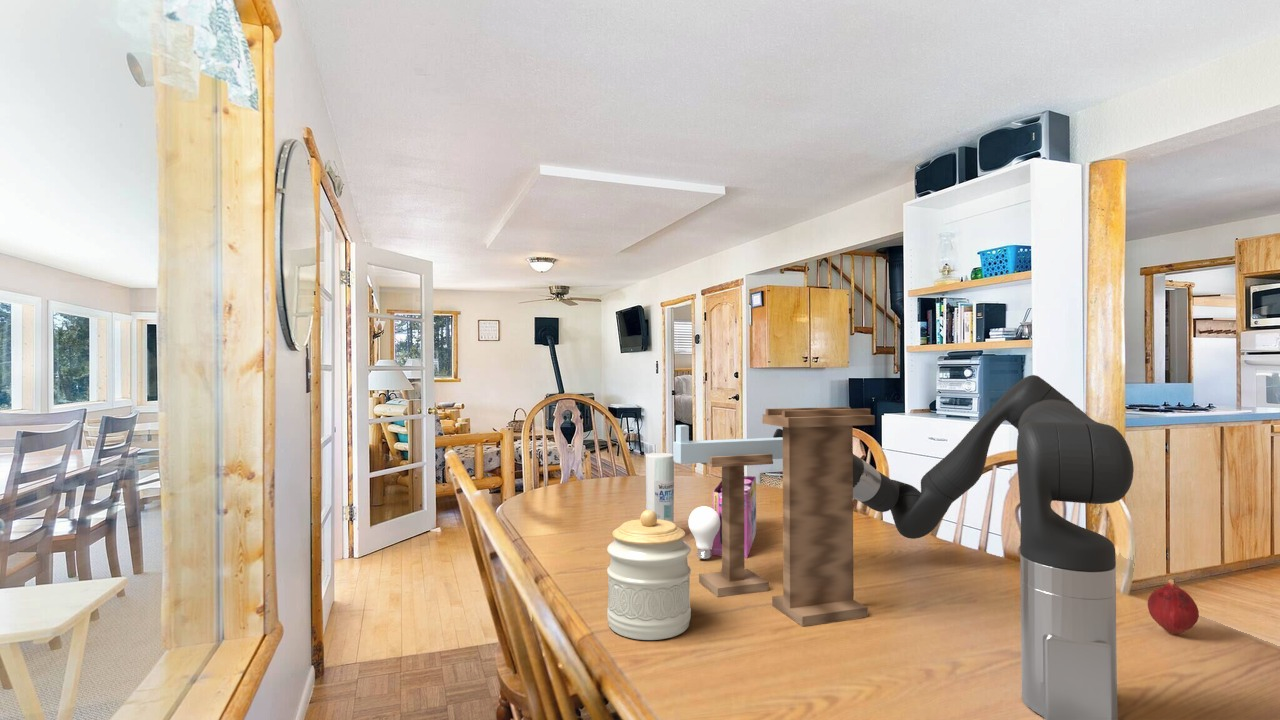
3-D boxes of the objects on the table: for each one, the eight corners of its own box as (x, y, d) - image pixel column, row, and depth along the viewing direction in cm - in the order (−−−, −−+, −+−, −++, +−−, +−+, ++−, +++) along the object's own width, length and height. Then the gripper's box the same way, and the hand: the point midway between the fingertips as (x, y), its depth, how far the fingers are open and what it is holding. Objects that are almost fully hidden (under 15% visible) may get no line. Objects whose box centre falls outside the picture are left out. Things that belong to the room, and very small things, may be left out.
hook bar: (799, 454, 121) (798, 421, 121) (809, 457, 118) (809, 422, 118) (673, 461, 113) (673, 424, 113) (680, 463, 110) (680, 426, 110)
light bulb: (682, 561, 129) (682, 507, 130) (696, 553, 135) (696, 501, 135) (712, 566, 126) (712, 511, 126) (725, 557, 132) (725, 505, 132)
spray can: (661, 537, 148) (660, 451, 149) (680, 542, 143) (679, 454, 144) (639, 541, 144) (639, 454, 144) (658, 548, 139) (658, 457, 139)
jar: (617, 647, 90) (617, 522, 90) (599, 613, 102) (599, 504, 102) (703, 636, 93) (703, 516, 93) (675, 604, 106) (675, 499, 106)
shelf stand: (843, 596, 110) (842, 406, 110) (878, 615, 101) (876, 409, 102) (761, 607, 105) (760, 408, 105) (791, 628, 96) (790, 411, 96)
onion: (1208, 644, 90) (1208, 588, 90) (1162, 640, 91) (1162, 585, 92) (1182, 627, 96) (1182, 575, 96) (1139, 624, 97) (1139, 572, 97)
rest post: (752, 576, 120) (751, 449, 121) (773, 590, 113) (773, 454, 113) (694, 582, 116) (693, 451, 117) (712, 597, 109) (712, 457, 109)
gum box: (748, 560, 130) (747, 495, 130) (709, 558, 132) (709, 493, 132) (756, 531, 153) (756, 476, 153) (724, 529, 155) (724, 474, 156)
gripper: (836, 453, 130) (774, 414, 126) (883, 463, 117) (816, 419, 112) (820, 485, 129) (757, 447, 125) (866, 499, 115) (797, 457, 111)
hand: (785, 434), depth 118 cm, fingers open, 6 cm apart
